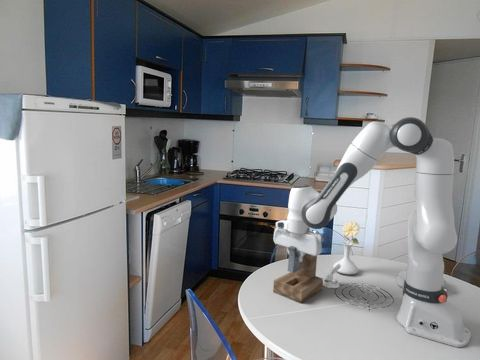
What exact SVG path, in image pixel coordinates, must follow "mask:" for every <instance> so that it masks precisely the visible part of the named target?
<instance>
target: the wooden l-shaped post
mask: <svg viewBox="0 0 480 360" xmlns="http://www.w3.org/2000/svg"><path fill="white" fill-rule="evenodd" d="M317 260H318V255H317V256H313V255H310V254H307V253H306V254H305V255H304V257H303V260H302V266H301V269H300V270H298V271H296V272H294V273H292V272H288V273H286V274H284V275H282V276H279V277H278V278H275V279H274V280H273V286H272V287H273V289H272V292H273V293H275V294H276V295H279V296H282V297H285V298H287V299H289V300H292V301H294V302H296V303H299V304H302V303H304V302H305V301H308V300H309V299H311V298H312V297H314V296H315V295H317V294H319V293H320V292H322V291H323V287H324V286H323V279H324V278H323V277H321V276H320V277H319V276H317V275H316V274H317V273H316V272H317V262H318V261H317Z"/></svg>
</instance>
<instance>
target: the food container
mask: <svg viewBox="0 0 480 360" xmlns="http://www.w3.org/2000/svg"><path fill="white" fill-rule="evenodd" d="M406 274H407V269H406V270H402V271H399V272H398V274H397V278H396V279H395V283H396V284H397V285H398V286H399V287H401V288H402V289H403V285H404V281H405V280H406ZM445 285H446V280H445V278H444V277H443V281H442V288H443V289H448V288H447V287H446V286H445Z"/></svg>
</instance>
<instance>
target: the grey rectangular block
mask: <svg viewBox="0 0 480 360" xmlns="http://www.w3.org/2000/svg"><path fill="white" fill-rule="evenodd" d="M288 250H289V254H288V262H287V272H288V273H290V272H292V273H294V272H296V271H298V270H300V269H301V266H302V262H298V261H297V257H299V256H300V255H301V254H300V251H297V247H294V246H290V247H288Z"/></svg>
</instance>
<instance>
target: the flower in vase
mask: <svg viewBox="0 0 480 360" xmlns="http://www.w3.org/2000/svg"><path fill="white" fill-rule="evenodd" d="M358 233H360V225H359V223H357V222H356V221H355V220H353V221H351V220H350V221H349V222H348V221H347V222H346V223H344V225H343V226H342V235H343V237H344V238H345V239H346V240H348V241H345V240H344V241H342V246H343V248H344V254H343V257H342V258H340V260H338V261H336V262H335V263H333V265H332V269H333V268H334V267H335V266H336V265H337V264H340V265H341V267H340V268H339V269H338V270H337V271H336V273H340V274H343V275H355V274H357V273H358V272H359V268H358V266H357V265H356V264H355V263H354V262H353V261H352V260H351V258H350V253H351V249H352V247H353V245H354V244H355V245H359V244H360V241H359V240H358V238H356V236H357V235H358ZM350 238H351V239H350Z"/></svg>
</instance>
